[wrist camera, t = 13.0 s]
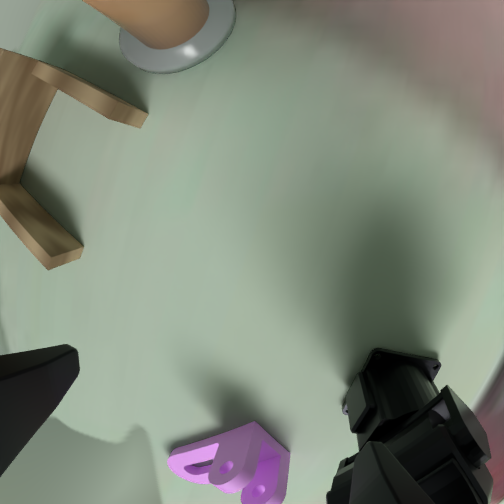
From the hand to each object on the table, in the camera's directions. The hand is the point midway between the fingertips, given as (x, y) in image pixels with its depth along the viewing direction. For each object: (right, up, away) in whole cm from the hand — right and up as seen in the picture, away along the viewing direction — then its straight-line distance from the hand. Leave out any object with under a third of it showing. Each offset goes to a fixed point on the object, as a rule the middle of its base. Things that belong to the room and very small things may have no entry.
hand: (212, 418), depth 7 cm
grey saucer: (-5, +22, +10) cm, 24 cm away
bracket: (-2, -16, +18) cm, 24 cm away
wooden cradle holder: (-15, +13, +13) cm, 24 cm away
